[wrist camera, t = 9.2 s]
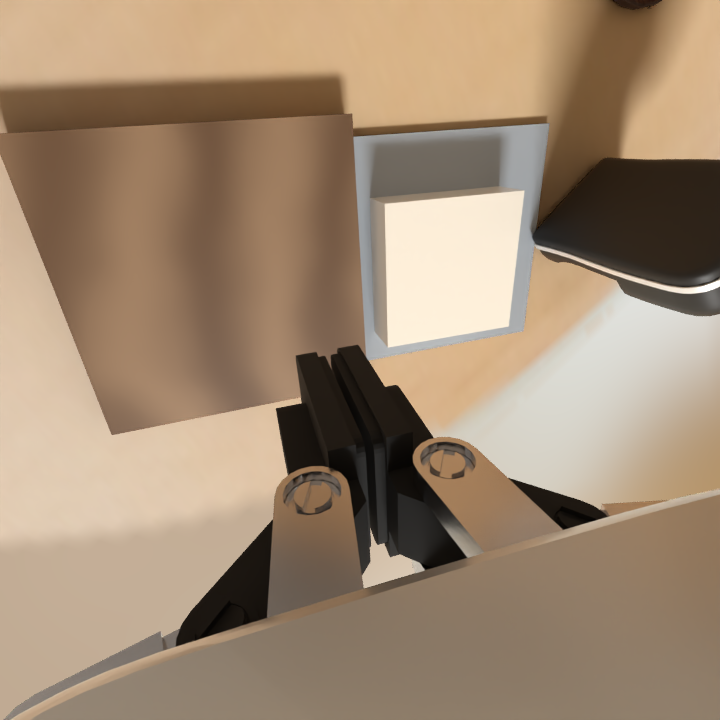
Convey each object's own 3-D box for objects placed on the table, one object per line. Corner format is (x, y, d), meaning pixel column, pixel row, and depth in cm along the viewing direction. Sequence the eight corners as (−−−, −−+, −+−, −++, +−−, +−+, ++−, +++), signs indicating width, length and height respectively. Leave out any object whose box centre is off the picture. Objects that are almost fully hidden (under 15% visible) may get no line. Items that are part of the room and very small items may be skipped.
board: (344, 115, 22) (352, 113, 21) (361, 372, 29) (367, 383, 28) (7, 134, 19) (-9, 134, 18) (117, 420, 26) (111, 435, 25)
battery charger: (550, 276, 30) (723, 340, 20) (523, 237, 28) (701, 289, 18) (625, 196, 29) (842, 224, 19) (604, 151, 27) (833, 157, 17)
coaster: (498, 186, 26) (524, 190, 24) (487, 312, 30) (508, 326, 27) (369, 197, 24) (384, 204, 22) (374, 331, 28) (387, 347, 26)
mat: (546, 123, 25) (549, 123, 25) (520, 329, 31) (523, 331, 31) (345, 137, 23) (347, 137, 22) (360, 359, 29) (361, 361, 28)
